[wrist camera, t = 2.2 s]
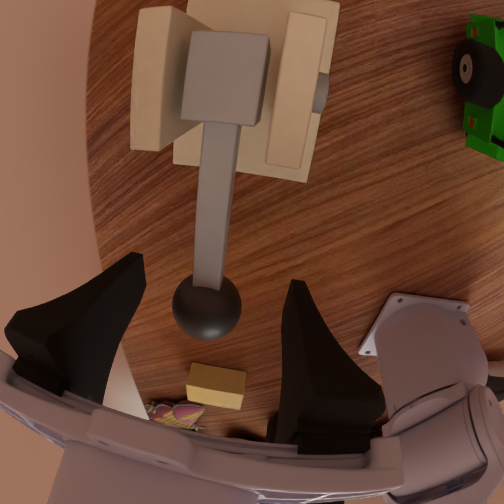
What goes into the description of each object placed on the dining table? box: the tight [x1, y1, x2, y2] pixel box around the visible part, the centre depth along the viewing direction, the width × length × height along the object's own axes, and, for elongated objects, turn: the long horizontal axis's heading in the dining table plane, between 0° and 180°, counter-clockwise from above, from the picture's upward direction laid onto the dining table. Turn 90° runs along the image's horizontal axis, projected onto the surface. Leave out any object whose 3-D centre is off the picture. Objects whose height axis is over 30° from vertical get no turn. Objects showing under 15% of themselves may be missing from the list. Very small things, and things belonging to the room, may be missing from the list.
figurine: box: [486, 361, 504, 402], centre depth 25 cm, size 7×10×15 cm
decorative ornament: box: [145, 400, 209, 432], centre depth 38 cm, size 17×2×10 cm
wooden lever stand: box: [130, 0, 340, 183], centre depth 10 cm, size 11×8×9 cm
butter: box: [186, 362, 247, 410], centre depth 29 cm, size 6×4×3 cm, turn 83°
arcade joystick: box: [172, 31, 271, 340], centre depth 10 cm, size 12×3×3 cm, turn 172°
